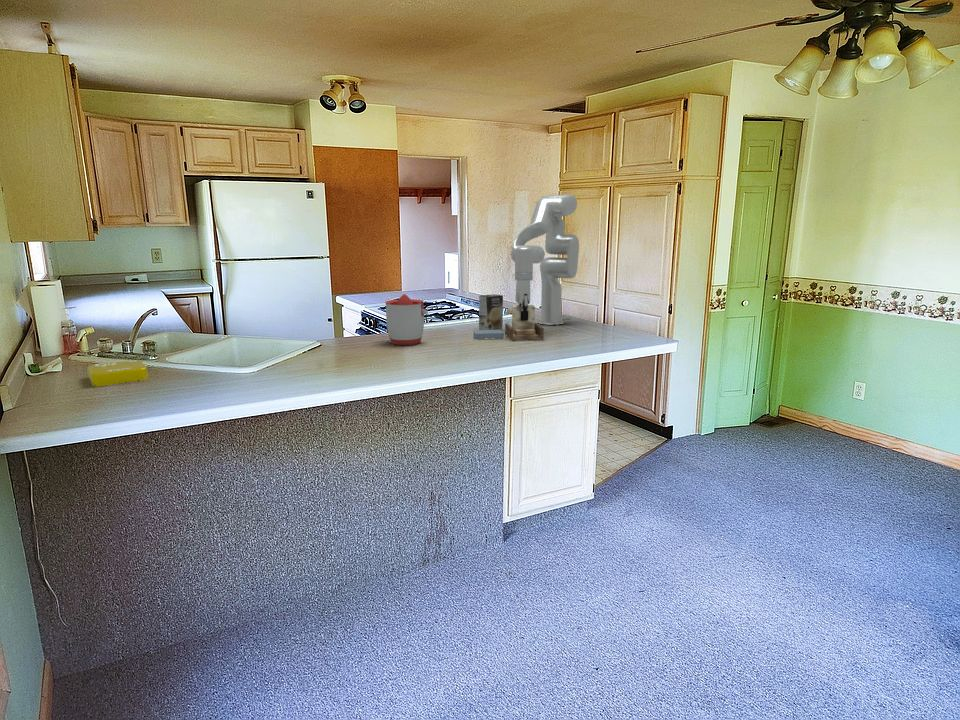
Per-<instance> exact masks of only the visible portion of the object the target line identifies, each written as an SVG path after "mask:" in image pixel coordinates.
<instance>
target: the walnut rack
mask: <svg viewBox="0 0 960 720" xmlns="http://www.w3.org/2000/svg"><path fill="white" fill-rule="evenodd" d="M504 327H505V328H504V332H505V333H504V335H505V334H506V335H507V336H506V335H505V336H506V338H507V337H508V338H509V339H510V340H534V341H544V337H545V336H544V332H545V331H544V330H545V329H544V327H543V326H542V325H540V324H538V322H535V334H537V335H525V336H513V328H512V325H510V324H509V322H508V323H505V324H504ZM508 338H507V339H508ZM509 339H508V340H509ZM510 340H509V341H510Z"/></svg>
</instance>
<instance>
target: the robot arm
mask: <svg viewBox="0 0 960 720" xmlns="http://www.w3.org/2000/svg"><path fill="white" fill-rule="evenodd" d="M577 206H578V200H577V198H576V195H574V194H547V195H543V196H541V197H540V198H539V199H538V200H537V201H536V204H535V207H534V210H533V213H532V216H531V220H530V223H529V224H528V225H527V226H526V227H524V228H523V229H521V231H520V232H519V233H518V234H517V235H516V237H515V238H514V241H513V243H512V247H511V252H510V257H511V260H512V261H513V262H514V281H516V284H515V302H516V303H517V304H518V305H521V321H528V305H530V304H531V281H533V280H534V279H533V276H534V275H533V274H534V271H533V269H534V264H539V263H540V264H539V270H540V277H541V292H540V293H541V300H540V302H541V303H540V319H539V320H537V323H541V324H561V323H564V324H565V322H564V321H571V319H572V317H571V315H563V314H562V294H563V293H562V292H563V290H562V289H563V288H562V284H561V282H560V281H559V279H574V278H575V277H576V275H577V273H578V266H579V265H578V264H579V254H580V253H579V252H580V241H579V237H578V236H577V235H575V234H570V233H569V234H567V233H566V234H565V228H566V227H565V225H566V224H565V221H564V219H563V217H568V216H570V215H572V214H573V213H575V211H576V209H577ZM544 235H545V239H544V241H545V242H544V243H545V244H544V245H545V247H544V248H543V247H542V246H540V245H529V244H528V245H527V243H528V242H529V241H531V240H534V239H536V238H538V237H541V236H544ZM525 244H526V245H525ZM546 253H547V254H548V255H555V256H566V257H555V256H553V257H551V256H550V257H545V255H546ZM523 305H524V306H523Z"/></svg>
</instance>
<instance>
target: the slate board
mask: <svg viewBox="0 0 960 720" xmlns="http://www.w3.org/2000/svg"><path fill="white" fill-rule="evenodd" d="M504 336H505V333H504V331H503V329H502V330H479V329H476V330H475V329H474V330H473V337H475V338H474V339H478V340H486V339H485V338H504V339H505V337H504Z"/></svg>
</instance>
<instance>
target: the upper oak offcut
mask: <svg viewBox="0 0 960 720" xmlns="http://www.w3.org/2000/svg"><path fill="white" fill-rule="evenodd" d="M515 335H516V336H525V335H535V330H534V329H515Z"/></svg>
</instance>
